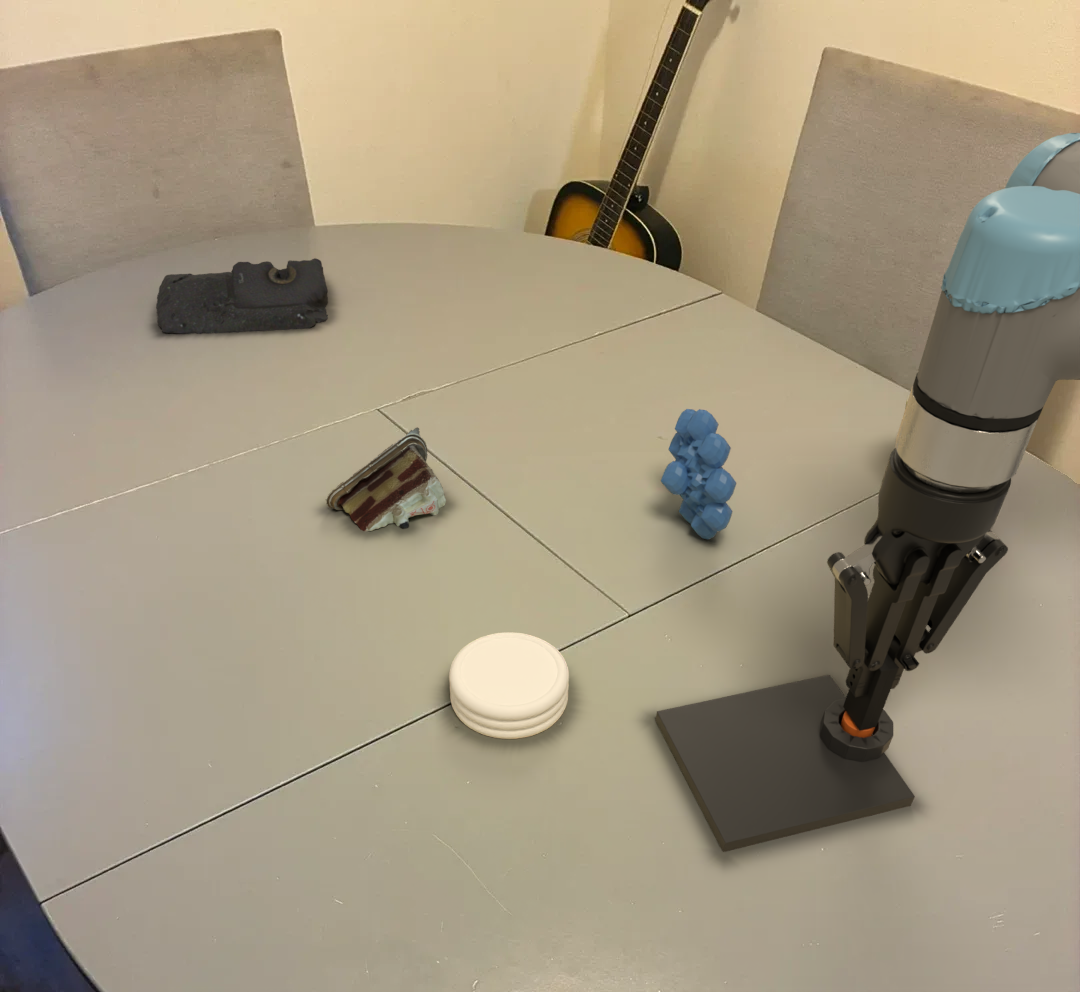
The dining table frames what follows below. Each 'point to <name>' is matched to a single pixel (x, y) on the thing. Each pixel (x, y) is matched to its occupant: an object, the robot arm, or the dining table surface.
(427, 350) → the dining table surface
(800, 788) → the dark grey flat slab
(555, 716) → the coaster
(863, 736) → the button
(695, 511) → the grapes
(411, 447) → the chocolate cake
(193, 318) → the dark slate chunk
